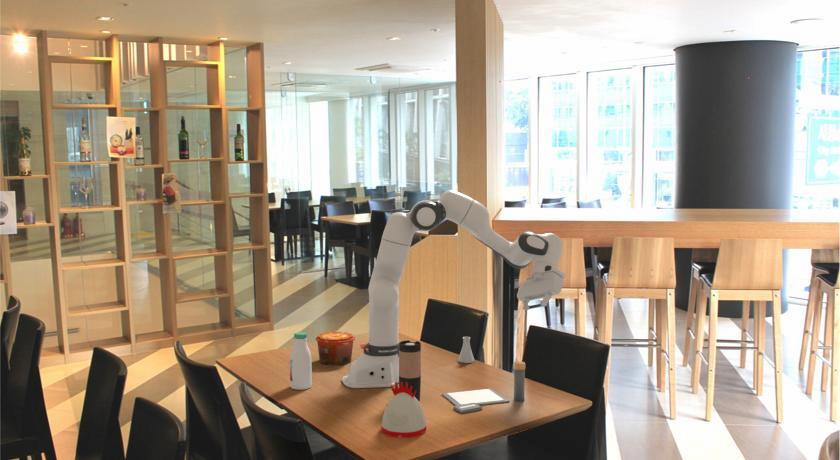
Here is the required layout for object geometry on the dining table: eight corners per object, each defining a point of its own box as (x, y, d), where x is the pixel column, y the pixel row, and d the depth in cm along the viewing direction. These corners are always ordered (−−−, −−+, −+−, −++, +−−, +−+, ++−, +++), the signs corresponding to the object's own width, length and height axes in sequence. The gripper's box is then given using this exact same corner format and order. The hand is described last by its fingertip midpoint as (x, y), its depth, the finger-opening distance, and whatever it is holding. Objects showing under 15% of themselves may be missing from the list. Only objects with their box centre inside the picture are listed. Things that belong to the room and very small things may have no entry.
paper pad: (457, 407, 257) (457, 405, 257) (441, 394, 271) (441, 392, 271) (509, 402, 263) (509, 400, 263) (490, 389, 277) (490, 387, 277)
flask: (473, 364, 311) (474, 340, 310) (456, 363, 313) (456, 339, 312) (476, 359, 318) (476, 336, 317) (458, 358, 320) (459, 335, 319)
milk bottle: (315, 385, 281) (315, 332, 279) (304, 391, 274) (303, 336, 272) (298, 382, 284) (297, 329, 282) (286, 388, 277) (285, 334, 275)
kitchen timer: (390, 419, 245) (390, 374, 243) (431, 424, 241) (431, 377, 239) (375, 435, 232) (375, 386, 230) (418, 440, 228) (418, 390, 226)
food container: (334, 354, 326) (333, 329, 325) (362, 360, 316) (362, 334, 315) (307, 362, 313) (307, 336, 312) (336, 368, 303) (336, 342, 302)
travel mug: (404, 404, 260) (404, 346, 258) (394, 398, 267) (395, 341, 265) (424, 401, 264) (425, 344, 262) (414, 394, 270) (414, 339, 268)
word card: (461, 413, 251) (461, 410, 251) (453, 409, 255) (453, 405, 255) (481, 409, 255) (481, 406, 255) (473, 405, 259) (473, 402, 259)
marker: (516, 401, 263) (517, 364, 262) (511, 398, 267) (512, 362, 266) (526, 400, 265) (527, 363, 263) (521, 397, 268) (522, 361, 267)
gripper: (518, 275, 288) (508, 307, 281) (556, 265, 271) (547, 299, 265) (530, 283, 290) (521, 315, 284) (569, 273, 274) (560, 307, 267)
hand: (534, 307), depth 274 cm, fingers open, 8 cm apart
